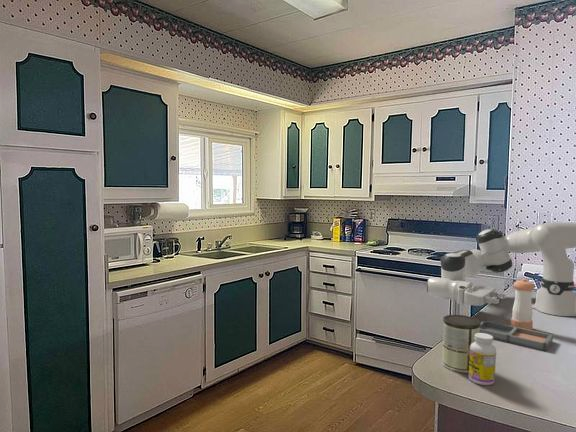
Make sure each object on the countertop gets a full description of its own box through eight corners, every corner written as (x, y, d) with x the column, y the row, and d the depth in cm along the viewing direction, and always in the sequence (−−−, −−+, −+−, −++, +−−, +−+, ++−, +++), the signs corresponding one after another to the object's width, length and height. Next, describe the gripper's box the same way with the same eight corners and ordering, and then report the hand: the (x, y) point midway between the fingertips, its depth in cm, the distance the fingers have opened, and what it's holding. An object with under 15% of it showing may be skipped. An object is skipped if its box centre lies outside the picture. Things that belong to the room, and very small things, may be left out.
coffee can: (442, 356, 136) (444, 312, 134) (478, 362, 131) (480, 317, 130) (439, 368, 126) (441, 322, 125) (477, 375, 122) (480, 327, 121)
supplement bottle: (463, 375, 122) (466, 331, 121) (486, 375, 123) (488, 331, 122) (476, 386, 115) (478, 340, 114) (499, 386, 116) (502, 339, 115)
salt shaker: (535, 332, 159) (538, 281, 158) (513, 330, 161) (517, 280, 159) (528, 326, 166) (531, 277, 165) (508, 324, 168) (511, 276, 166)
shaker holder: (483, 326, 165) (483, 320, 165) (552, 341, 150) (552, 334, 150) (473, 334, 156) (473, 327, 156) (545, 351, 141) (546, 344, 141)
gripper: (472, 295, 184) (508, 301, 175) (456, 305, 169) (494, 312, 160) (473, 280, 184) (509, 286, 175) (457, 289, 168) (495, 296, 159)
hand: (501, 299), depth 167 cm, fingers open, 8 cm apart
